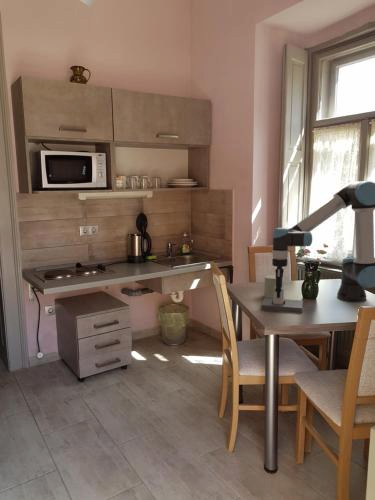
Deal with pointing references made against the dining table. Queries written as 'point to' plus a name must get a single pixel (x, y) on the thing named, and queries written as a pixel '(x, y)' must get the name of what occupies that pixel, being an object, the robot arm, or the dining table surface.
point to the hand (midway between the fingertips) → (278, 302)
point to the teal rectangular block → (281, 295)
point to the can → (269, 286)
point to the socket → (283, 305)
